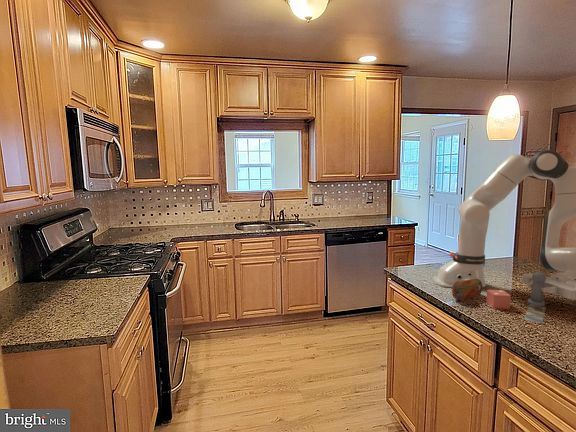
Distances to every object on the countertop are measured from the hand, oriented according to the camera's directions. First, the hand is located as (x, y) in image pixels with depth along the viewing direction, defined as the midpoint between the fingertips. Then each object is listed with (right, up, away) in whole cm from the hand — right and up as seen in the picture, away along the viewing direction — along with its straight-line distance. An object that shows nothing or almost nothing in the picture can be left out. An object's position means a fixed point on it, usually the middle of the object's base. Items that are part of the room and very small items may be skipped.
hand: (536, 287), depth 131 cm
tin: (-19, -8, +14) cm, 25 cm away
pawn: (+1, -6, +1) cm, 6 cm away
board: (-3, -10, -3) cm, 10 cm away
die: (-12, -9, +4) cm, 15 cm away
